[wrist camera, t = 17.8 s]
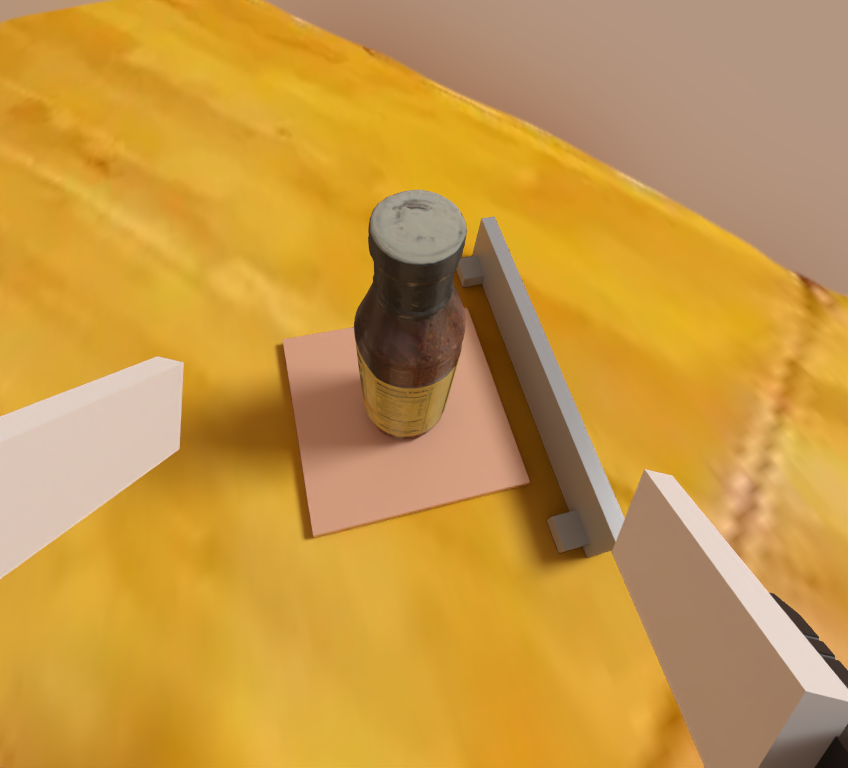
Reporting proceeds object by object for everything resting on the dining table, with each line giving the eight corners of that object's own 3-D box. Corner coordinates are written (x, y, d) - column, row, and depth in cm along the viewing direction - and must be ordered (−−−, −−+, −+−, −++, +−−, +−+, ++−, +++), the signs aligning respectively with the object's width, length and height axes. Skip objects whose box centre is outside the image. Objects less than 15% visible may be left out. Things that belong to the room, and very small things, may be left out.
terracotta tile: (466, 313, 43) (467, 307, 42) (527, 484, 36) (530, 481, 35) (284, 344, 40) (282, 339, 39) (314, 537, 33) (313, 536, 32)
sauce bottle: (391, 358, 39) (399, 140, 21) (457, 395, 38) (524, 198, 20) (345, 422, 36) (311, 231, 18) (416, 463, 35) (452, 303, 17)
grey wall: (501, 253, 46) (514, 214, 42) (625, 546, 35) (661, 535, 30) (452, 260, 45) (460, 221, 41) (562, 564, 34) (590, 556, 29)
